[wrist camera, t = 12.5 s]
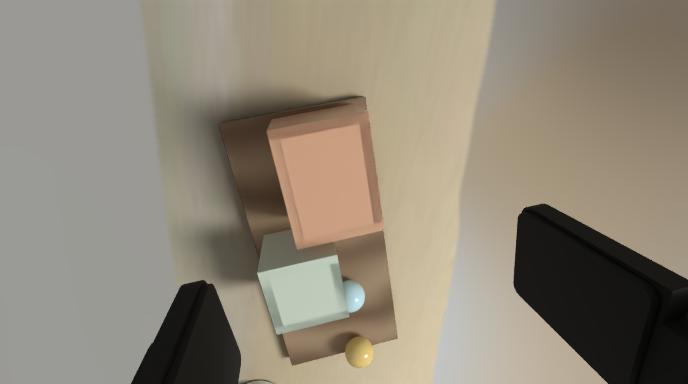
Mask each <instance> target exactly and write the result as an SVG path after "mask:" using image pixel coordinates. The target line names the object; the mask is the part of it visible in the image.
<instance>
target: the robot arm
mask: <svg viewBox="0 0 688 384" xmlns="http://www.w3.org/2000/svg"><path fill="white" fill-rule="evenodd" d="M514 288H515V290H516V292H517V293H518V294H519V296H520V297H522V298H523V300H524V301H525V302H526V303H528V305H530V307H532V309H534V310H535V311H536V312H537V313H538V314H539V315H540V316H541V317H542V318H543V319H544V320H545V321H546V322H547V323H548V324H549V325H550V326H551V327H552V328H553V329H554V330H555V331H556V332H557V333H558V334H559V335H560V336H561V337H562V338H563V339H564V340H565V341H566V342H567V343H568V344H569V345H570V346H571V347H572V348H573V349H574V350H575V351H576V352H577V353H578V354H579V355H580V356H581V357H582V358H583V359H584V360H585V361H586V362H587V363H588V364H589V365H590V366H591V367H592V368H593V369H594V370H595V371H596V372H597V373H598V374H599V375H600V376H601V377H602V378H603V379H604V380H605V381H606V382H607V383H608V384H688V280H687V279H686V278H684V277H682V276H680V275H678V274H676V273H674V272H673V271H671V270H669V269H667V268H665V267H663V266H661V265H659V264H657V263H656V262H653V261H652V260H650V259H648V258H646V257H644V256H642V255H641V254H639V253H637V252H635V251H633V250H631V249H629V248H628V247H626V246H624V245H621V244H620V243H618V242H616V241H615V240H613V239H611V238H609V237H607V236H605V235H603V234H601V233H600V232H598V231H596V230H594V229H592V228H590V227H588V226H586V225H585V224H583V223H581V222H579V221H577V220H575V219H573V218H571V217H570V216H568V215H566V214H564V213H562V212H560V211H558V210H557V209H555V208H553V207H551V206H549V205H547V204H539V205H535V206H530V207H526V208H524V209H523V211H522V213H521V214H520V215H519V216H518V224H517V239H516V253H515V267H514ZM240 367H241V354H240V350H239V348H238V345H237V342H236V340H235V337H234V335H233V332H232V330H231V327H230V325H229V322H228V320H227V317H226V315H225V312H224V310H223V307H222V304H221V302H220V299H219V297H218V294H217V292H216V289H215V287H214V285H213V284H207V283H206V281H204V280H201V281H197V282H192V283H188V284H184V285H182V286H181V287H180V289H179V291H178V293H177V295H176V297H175V299H174V301H173V303H172V305H171V307H170V309H169V311H168V313H167V315H166V317H165V319H164V322H163V323H162V325H161V327H160V329H159V332H158V334H157V336H156V338H155V340H154V342H153V343H152V344H151V345H150V347H149V348H148V350H147V352H146V354H145V356H144V358H143V361H142V363H141V364H140V367H139V369H138V371H137V373H136V375H135V376H134V379H133V381H132V383H131V384H238V379H239V373H240Z"/></svg>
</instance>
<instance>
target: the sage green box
mask: <svg viewBox="0 0 688 384" xmlns="http://www.w3.org/2000/svg"><path fill="white" fill-rule="evenodd" d="M257 274H258V277H259V280H260V284H261V287H262V290H263V293H264V296H265V299H266V303H267V306H268V309H269V312H270V315H271V318H272V322H273V325H274V328H275V331H276V334H277V335H279V334H283V333H287V332H291V331H295V330H299V329H303V328H307V327H311V326H315V325H319V324H323V323H327V322H331V321H335V320H339V319H343V318H347V317H349V312H348V307H347V302H346V297H345V292H344V287H343V282H342V277H341V272H340V267H339V262H338V257H337V252H336V249H335V245H334V242H330V243H326V244H321V245H317V246H312V247H308V248H304V249H299V250H297V248H296V244H295V240H294V236H293V232H292V229H290V230H285V231H281V232H276V233H272V234H267V235H264V237H263V243H262V249H261V254H260V260H259V266H258V271H257Z"/></svg>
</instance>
